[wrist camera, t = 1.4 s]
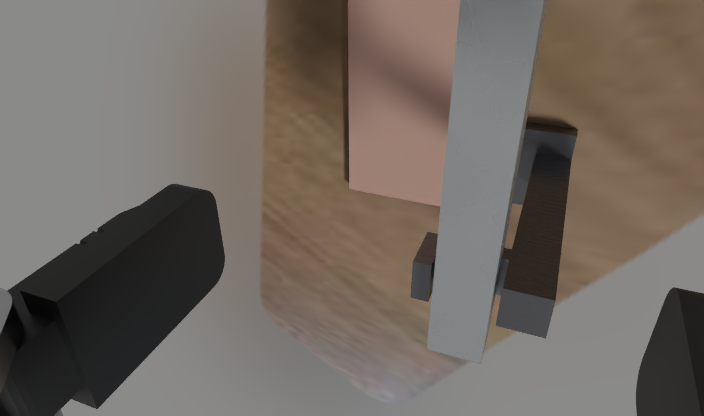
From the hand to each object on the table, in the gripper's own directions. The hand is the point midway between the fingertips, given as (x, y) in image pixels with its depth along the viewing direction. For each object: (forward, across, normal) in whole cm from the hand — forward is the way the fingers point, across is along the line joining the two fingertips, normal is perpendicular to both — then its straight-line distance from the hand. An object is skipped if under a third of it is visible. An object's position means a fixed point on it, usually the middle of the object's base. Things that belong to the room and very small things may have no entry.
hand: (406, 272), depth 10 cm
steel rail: (+12, 0, 0) cm, 12 cm away
